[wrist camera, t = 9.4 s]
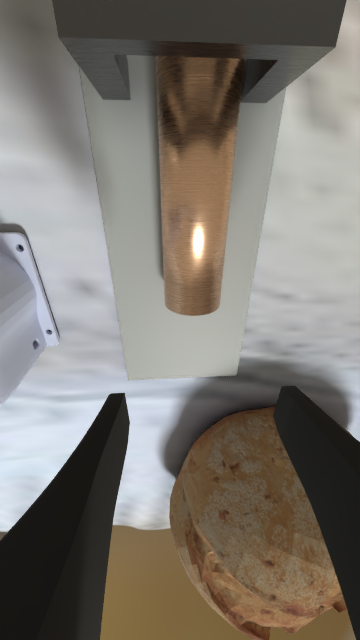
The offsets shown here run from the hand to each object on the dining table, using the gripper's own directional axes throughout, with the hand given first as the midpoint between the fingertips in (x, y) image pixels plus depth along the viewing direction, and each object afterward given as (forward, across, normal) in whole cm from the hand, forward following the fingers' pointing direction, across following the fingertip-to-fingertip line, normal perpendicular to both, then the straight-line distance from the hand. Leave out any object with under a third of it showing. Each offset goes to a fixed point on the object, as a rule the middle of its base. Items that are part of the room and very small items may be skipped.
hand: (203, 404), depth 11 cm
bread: (+11, -10, +25) cm, 29 cm away
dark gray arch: (+10, 0, -14) cm, 17 cm away
